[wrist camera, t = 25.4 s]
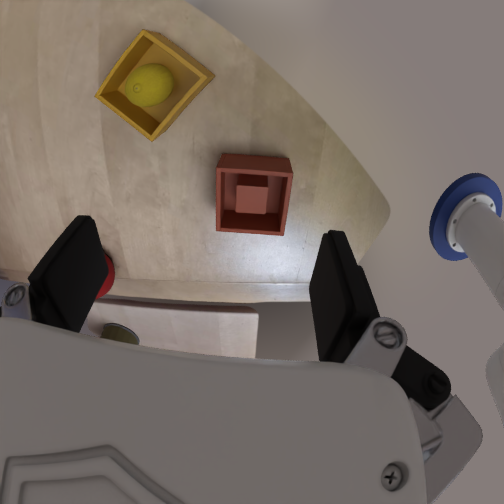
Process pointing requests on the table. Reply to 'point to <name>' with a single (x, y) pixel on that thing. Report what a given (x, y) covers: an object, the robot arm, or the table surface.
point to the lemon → (149, 85)
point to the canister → (119, 334)
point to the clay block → (251, 193)
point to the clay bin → (276, 198)
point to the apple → (107, 279)
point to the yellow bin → (184, 91)
